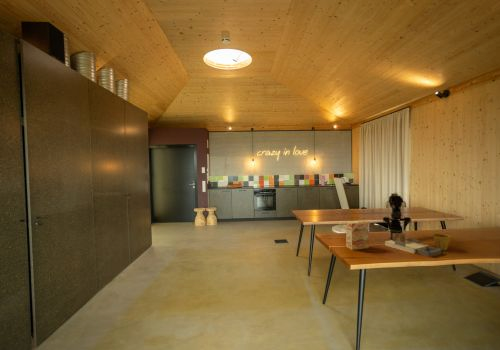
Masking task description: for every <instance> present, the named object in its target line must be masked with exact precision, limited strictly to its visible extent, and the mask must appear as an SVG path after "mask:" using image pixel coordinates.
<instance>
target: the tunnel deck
mask: <svg viewBox="0 0 500 350" xmlns="http://www.w3.org/2000/svg"><path fill="white" fill-rule="evenodd" d="M384 246H386V247H389V248H393V249H397V250H400V251H404V252H406V253H407V252H408V253H411V254H417V255H421V256H425V257H429V258H433V257H435V256H436V257H437V256H440V255H443V250H442V249H439V248H436V247H434V246H430V244H427V243H423V242H420V239H417V238H413V237H408V240H407V239H405V242H400V241H395V242H394V241H393V240H392V239H389V240H385V241H384Z"/></svg>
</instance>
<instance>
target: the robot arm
mask: <svg viewBox="0 0 500 350" xmlns="http://www.w3.org/2000/svg"><path fill="white" fill-rule="evenodd" d="M388 203H389V206H390V208H391V213H390V216H391V217H389V216H383V217H382V221H383V222H384V223H386V224H387V225H388V228H389V232H390V237H389V240H393V239H392V233H402V234H403V231H404V232H405V230H406V229H407V226H408V224H410V223H412V218H411V217H408V216H407V217H406V216H405V217H403V218H402V214H403V213H402V210H401V209H402V205H403V204H402V203H404V199H403V197H402V196H401V195H399V194H398V193H391V194H390V196H389V197H388ZM401 222H403V226H402V225H401Z"/></svg>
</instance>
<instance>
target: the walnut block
mask: <svg viewBox="0 0 500 350" xmlns="http://www.w3.org/2000/svg"><path fill="white" fill-rule="evenodd" d="M392 239H393V241H394V242H395V241H400V242H405V240H406V234H405V233H403V232H402V233H392ZM392 239H391V240H392Z"/></svg>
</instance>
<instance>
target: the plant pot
mask: <svg viewBox="0 0 500 350" xmlns="http://www.w3.org/2000/svg"><path fill="white" fill-rule="evenodd" d="M432 239H433V240H434V241H433V242H434V245H435V248H439V249H442V251H446V250H448V248H449V245H450V242H451V240H452V238H451V236H450V235H448V234H443V233H433V234H432Z"/></svg>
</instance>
